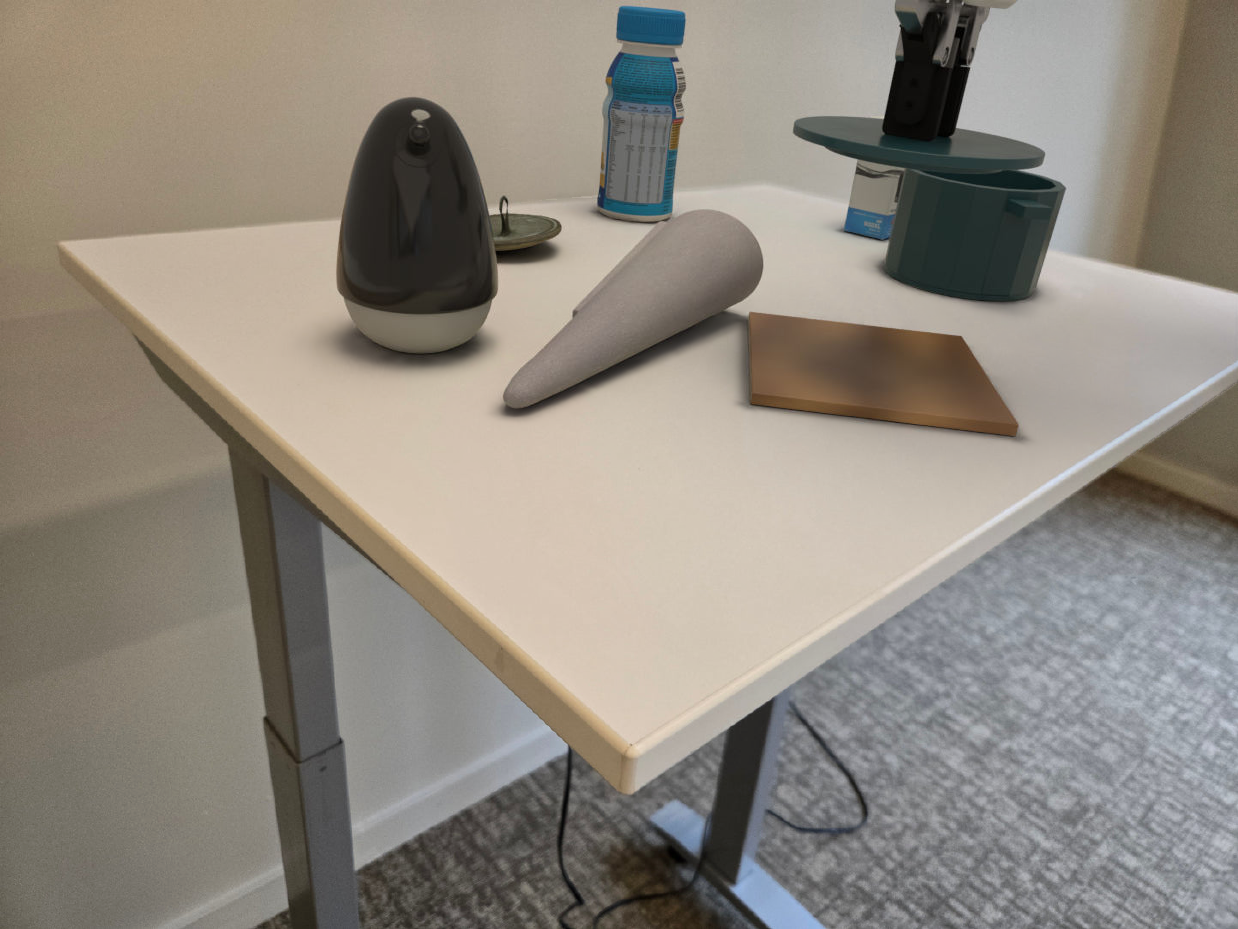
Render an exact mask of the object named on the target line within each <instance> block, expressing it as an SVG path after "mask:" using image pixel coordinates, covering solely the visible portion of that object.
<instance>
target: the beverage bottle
mask: <svg viewBox="0 0 1238 929" xmlns="http://www.w3.org/2000/svg"><path fill="white" fill-rule="evenodd" d="M616 17H617V18H616V33H615V38H616V43H619V44H622V46H621V48H620V50H619V51H618V52H617V54H616V55H615V57H614V58H613V60H612V62H611V63H610V66H609V67H608V70H607V73H606V76H605V85H606V88H607V95H606V96H605V98H604V100H603V102H602V106H601V107H602V108H601V114H602V119H603V122H602V123H603V125H602V138H601V139H602V140H601V141H602V142H601V155H600V171H599V172H600V173H599V185H598V193H597V200H596V202H597V203H596V208H597V210H598V211H599V212H600V213H601V214H602V215H604V216H607V217H609V218H613V219H615V220H616V219H617V220H622V221H627V222H638V223H639V222H640V223H653V222H659V221H664V220H667V219H669V218H670V217H671V216H672V214H673V209H674V208H673V207H674V188H675V179H676V170H677V160H678V154H679V142H680V134H681V127H682V125H683V123H684V119H685V107H684V104H683V101H682V99H683V98H682V97H683V94H684V93H685V92H686V89H687V82H686V76H685V72H684V69H683V66H682V64H681V62H680V60H679V58H678V56H677V53H676V49H681V48H682V47H683V44H684V38H685V31H686V21H687V19H686V13H685V11H682V10H676V9H667V8H660V7H659V8H658V7H647V6H636V5H620V6H619V7H618V12H617V15H616Z"/></svg>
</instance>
